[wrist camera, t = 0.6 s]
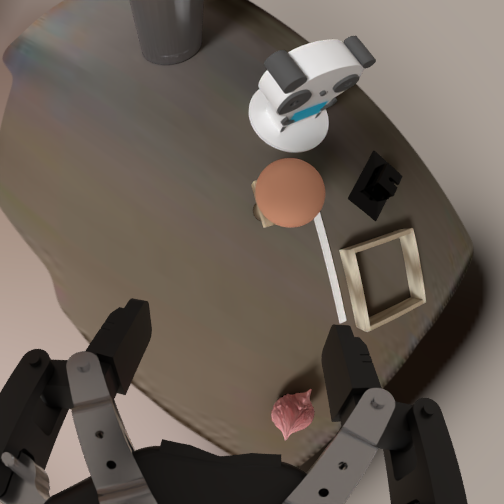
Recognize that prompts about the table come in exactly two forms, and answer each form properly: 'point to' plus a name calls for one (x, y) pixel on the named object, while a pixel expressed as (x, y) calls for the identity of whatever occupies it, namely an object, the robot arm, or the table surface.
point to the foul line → (330, 268)
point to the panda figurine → (304, 91)
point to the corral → (357, 289)
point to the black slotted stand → (375, 186)
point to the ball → (290, 192)
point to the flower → (293, 412)
